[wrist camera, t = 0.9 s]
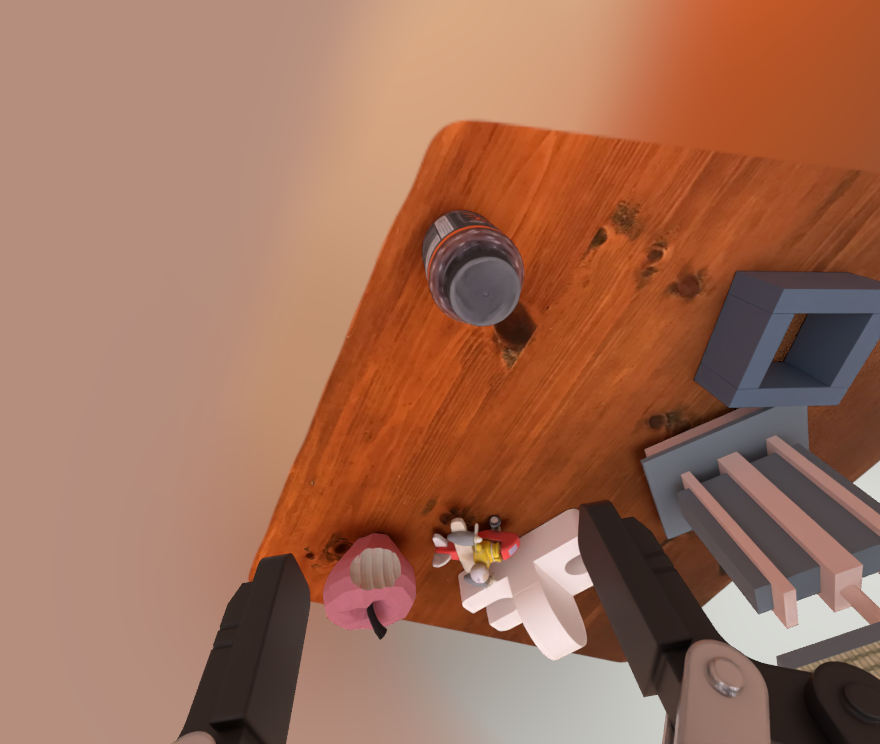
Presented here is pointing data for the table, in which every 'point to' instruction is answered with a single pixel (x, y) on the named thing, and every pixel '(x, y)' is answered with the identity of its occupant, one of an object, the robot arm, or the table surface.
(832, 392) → the stand
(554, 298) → the table surface
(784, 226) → the table surface
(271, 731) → the robot arm
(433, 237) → the supplement bottle
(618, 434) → the table surface
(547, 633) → the slotted arch bracket
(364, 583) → the apple
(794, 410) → the desk lamp
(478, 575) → the toy airplane
